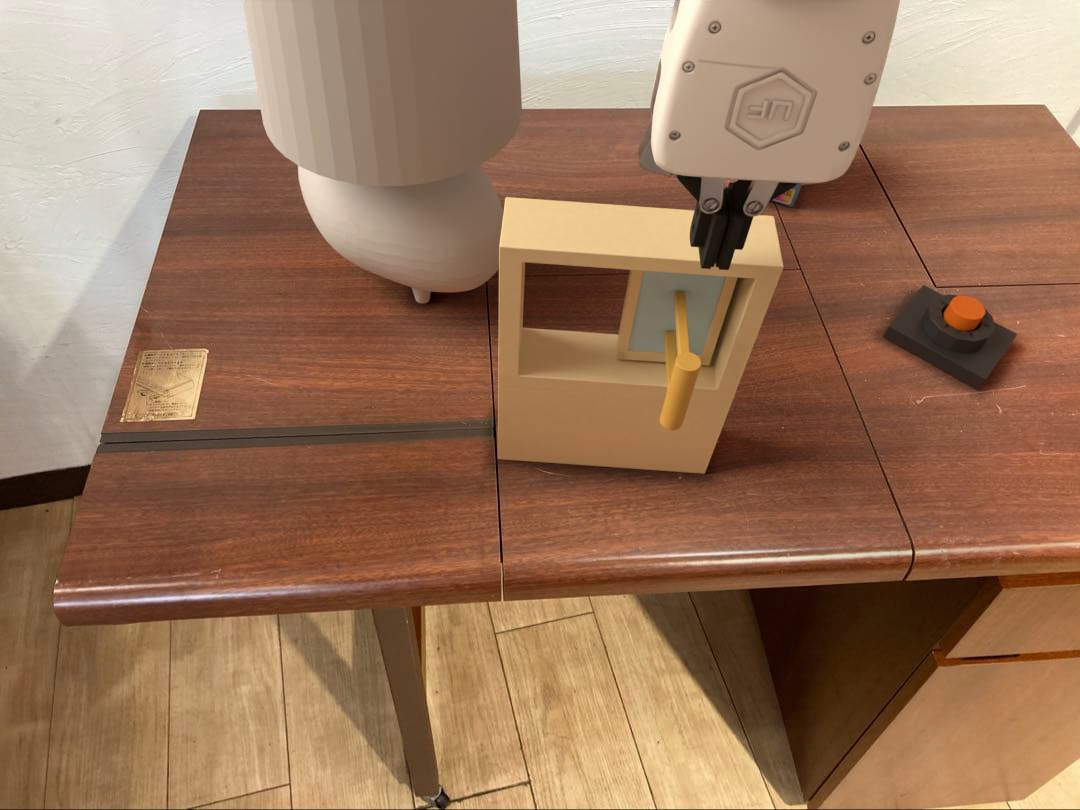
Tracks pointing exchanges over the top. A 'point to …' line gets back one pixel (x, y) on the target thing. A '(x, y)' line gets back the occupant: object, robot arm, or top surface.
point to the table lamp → (394, 126)
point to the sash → (673, 329)
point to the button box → (949, 338)
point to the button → (964, 313)
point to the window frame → (590, 358)
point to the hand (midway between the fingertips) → (712, 253)
